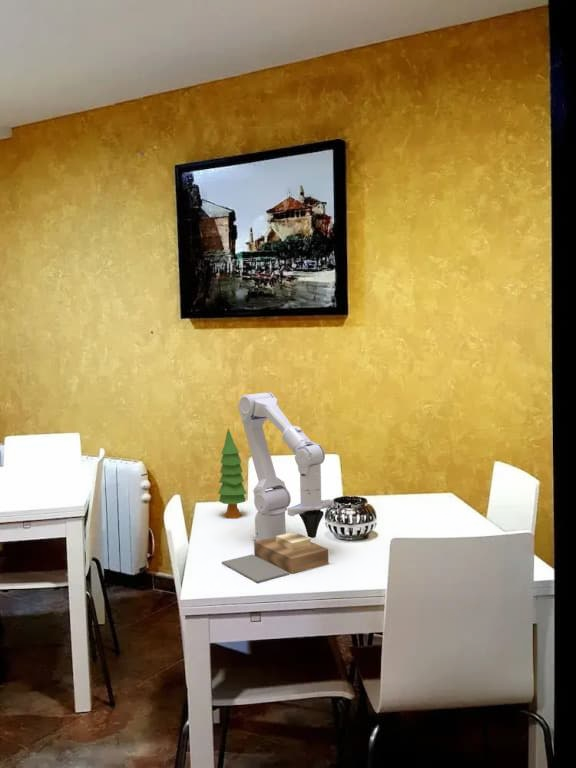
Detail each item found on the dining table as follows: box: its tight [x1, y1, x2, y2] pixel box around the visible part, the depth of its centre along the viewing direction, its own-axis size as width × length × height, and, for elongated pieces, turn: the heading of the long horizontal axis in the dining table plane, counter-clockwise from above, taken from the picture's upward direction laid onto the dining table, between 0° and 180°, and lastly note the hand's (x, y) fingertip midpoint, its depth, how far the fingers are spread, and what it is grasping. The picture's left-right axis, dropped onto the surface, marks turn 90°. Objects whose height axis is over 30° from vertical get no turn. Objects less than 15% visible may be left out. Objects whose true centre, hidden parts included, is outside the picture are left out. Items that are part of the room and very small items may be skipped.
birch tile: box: [276, 531, 312, 550], centre depth 190 cm, size 8×6×2 cm
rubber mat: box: [221, 553, 290, 584], centre depth 184 cm, size 18×10×1 cm, turn 35°
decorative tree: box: [217, 428, 247, 519], centre depth 234 cm, size 10×9×30 cm
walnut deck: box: [253, 537, 329, 575], centre depth 190 cm, size 18×12×4 cm, turn 35°
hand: (311, 536), depth 194 cm, fingers closed
